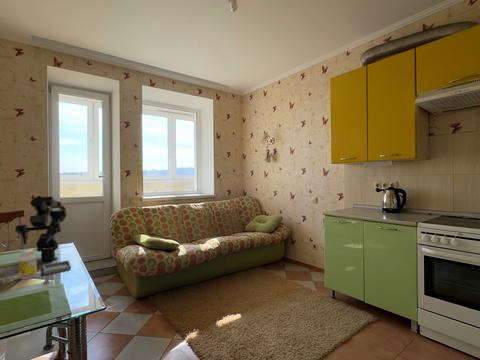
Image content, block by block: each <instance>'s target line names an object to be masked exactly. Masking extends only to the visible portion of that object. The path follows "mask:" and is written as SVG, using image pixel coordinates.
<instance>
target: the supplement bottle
mask: <svg viewBox="0 0 480 360" xmlns="http://www.w3.org/2000/svg"><path fill="white" fill-rule="evenodd" d="M34 253H35V252H34V249H32V248H30V249H29V248H27V249H24V250H23V249H22V250H21V251H20V256H19V258H18V278H19V279H20V280H28V279H31V278H35V277H36V276H37V275H38V272H37V268H38V267H37V255H36V254H34Z"/></svg>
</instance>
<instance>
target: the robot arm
mask: <svg viewBox="0 0 480 360" xmlns="http://www.w3.org/2000/svg"><path fill="white" fill-rule="evenodd" d="M30 205H31V207H32V209H33V211H35V212H36V213H35V215H30V216H29V223H31V226H28V225H27V224H18V225H16V226H15V228H14V231H16V233H17V234H18V235H20V236H22V240H23V242H22V243H23V245H25V246H26V245H27V242H28V238H29V233H30V231H31V232H32V231H44V230H46V231H45V233H41V234H40V235H39V238H38V240H37V241H36V250H37V252H41V253H40V260H39V261H38V263H51V262H53V261H55V260H57V259H59V258H58V257H56V250H58V249H59V243H58V241H57V239H56V234H58V233H60V232H62V226H61V223H62V222H64V221H65V220H66V218H67V215H68V214H67V209H66V207H65V206H64V205H63V204H62V202H61V201H59V200H55V198H54V197H53V196H51V195H50V196H41V195H37V196H36V197H35V198H33V199H32V200H31V201H30ZM53 209H59V210H53ZM49 218H50V223H49ZM48 223H49V225H48Z"/></svg>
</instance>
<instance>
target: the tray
mask: <svg viewBox="0 0 480 360" xmlns="http://www.w3.org/2000/svg"><path fill="white" fill-rule="evenodd" d="M68 269H71V270H72V265H71V263H70V260H68V259H67V260H63V261H57V262H52V263H51V262H50V263H47V264H43V275H44V276H46V275H49V274H50V275H51V274H55V273H61V272H64V271H63V270H66V271H69V270H68ZM60 271H61V272H60Z"/></svg>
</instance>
